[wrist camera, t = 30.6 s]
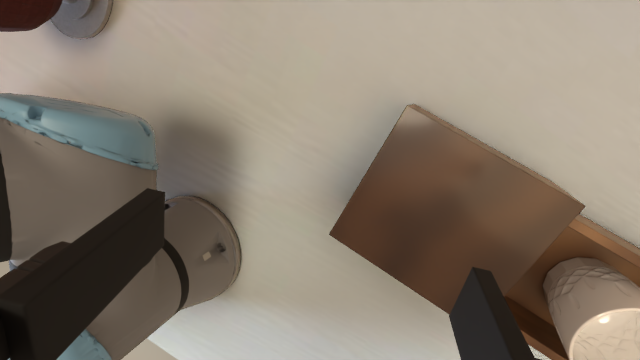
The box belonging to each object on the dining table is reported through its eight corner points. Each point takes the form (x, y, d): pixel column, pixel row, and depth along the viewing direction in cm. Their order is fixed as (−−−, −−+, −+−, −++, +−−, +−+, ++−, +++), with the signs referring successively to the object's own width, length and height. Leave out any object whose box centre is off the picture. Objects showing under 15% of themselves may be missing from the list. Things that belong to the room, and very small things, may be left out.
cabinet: (552, 181, 35) (585, 206, 27) (466, 284, 40) (473, 330, 32) (414, 103, 37) (407, 104, 29) (349, 209, 42) (328, 234, 34)
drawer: (767, 311, 31) (851, 366, 24) (652, 400, 35) (698, 466, 29) (547, 187, 34) (572, 207, 28) (468, 282, 39) (473, 318, 32)
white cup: (612, 336, 34) (676, 425, 25) (524, 309, 36) (553, 381, 27) (647, 265, 32) (731, 333, 23) (551, 240, 34) (593, 293, 25)
